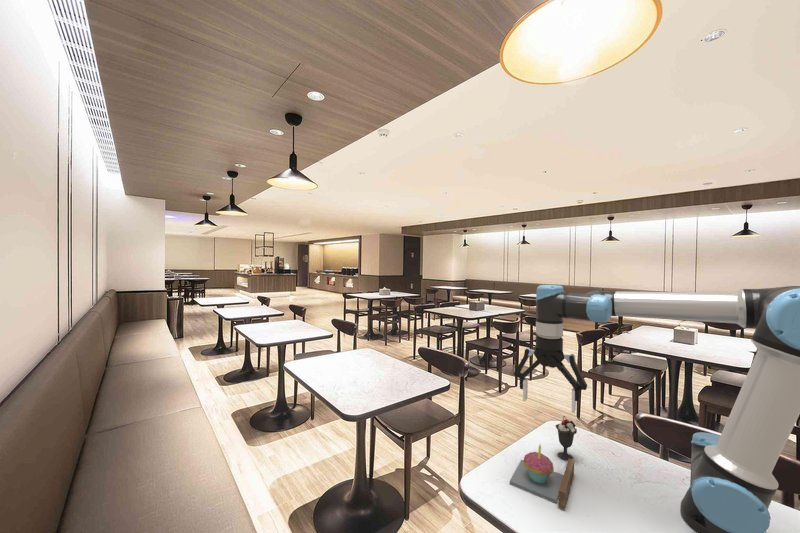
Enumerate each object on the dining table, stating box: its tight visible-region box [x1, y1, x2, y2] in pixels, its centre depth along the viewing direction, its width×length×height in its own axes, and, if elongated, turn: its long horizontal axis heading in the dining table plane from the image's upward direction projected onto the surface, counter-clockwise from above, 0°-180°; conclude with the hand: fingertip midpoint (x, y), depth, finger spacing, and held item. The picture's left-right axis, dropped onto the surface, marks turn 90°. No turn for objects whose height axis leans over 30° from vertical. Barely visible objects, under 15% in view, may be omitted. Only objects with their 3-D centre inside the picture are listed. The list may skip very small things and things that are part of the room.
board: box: [509, 459, 564, 505], centre depth 99 cm, size 13×13×1 cm
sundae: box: [555, 415, 578, 462], centre depth 111 cm, size 7×7×15 cm
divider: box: [557, 458, 575, 512], centre depth 95 cm, size 2×18×5 cm, turn 144°
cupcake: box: [523, 444, 554, 483], centre depth 99 cm, size 9×8×12 cm
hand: (548, 405), depth 98 cm, fingers open, 13 cm apart
